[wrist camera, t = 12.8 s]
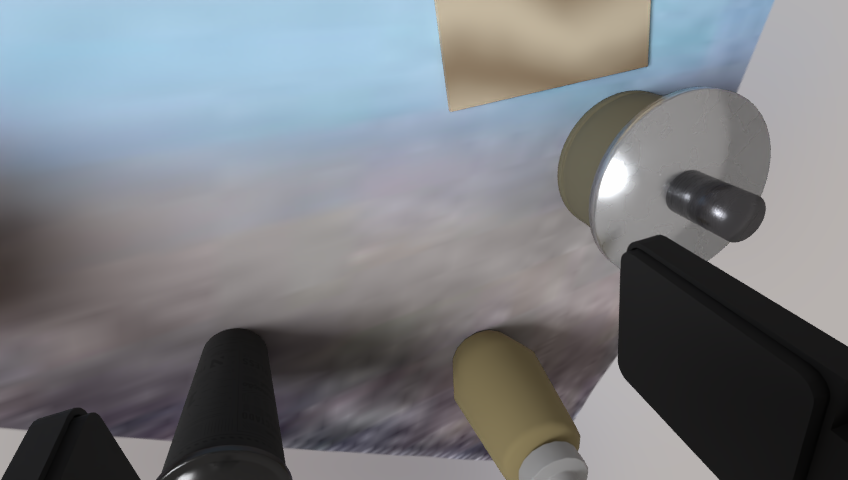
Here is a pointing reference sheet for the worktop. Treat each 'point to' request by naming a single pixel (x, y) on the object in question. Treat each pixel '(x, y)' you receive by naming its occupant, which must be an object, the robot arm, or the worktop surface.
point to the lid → (683, 175)
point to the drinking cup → (229, 416)
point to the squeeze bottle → (515, 409)
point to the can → (594, 146)
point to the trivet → (536, 45)
